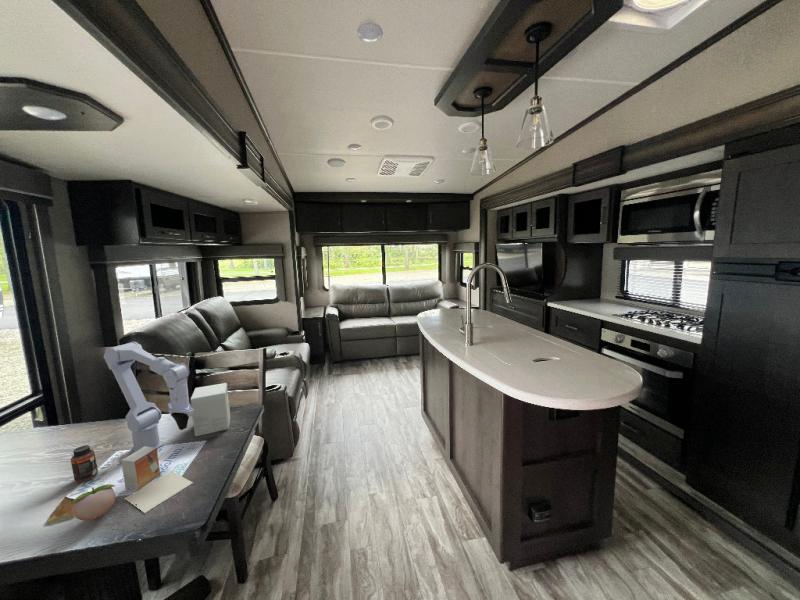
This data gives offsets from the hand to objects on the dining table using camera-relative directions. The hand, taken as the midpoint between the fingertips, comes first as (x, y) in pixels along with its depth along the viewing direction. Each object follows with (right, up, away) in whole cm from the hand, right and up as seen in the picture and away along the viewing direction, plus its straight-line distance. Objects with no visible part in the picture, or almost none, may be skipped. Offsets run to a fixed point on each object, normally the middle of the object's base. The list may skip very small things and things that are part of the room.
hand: (183, 428), depth 122 cm
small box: (-4, -13, -14) cm, 19 cm away
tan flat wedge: (-18, -15, -27) cm, 36 cm away
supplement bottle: (-26, -13, -12) cm, 31 cm away
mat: (+5, -13, -19) cm, 24 cm away
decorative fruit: (-5, -15, -29) cm, 33 cm away
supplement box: (0, -8, +21) cm, 22 cm away
